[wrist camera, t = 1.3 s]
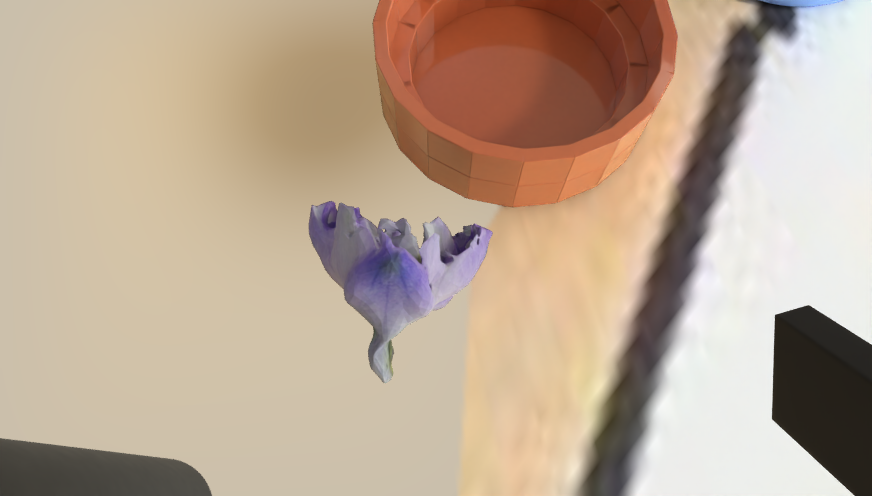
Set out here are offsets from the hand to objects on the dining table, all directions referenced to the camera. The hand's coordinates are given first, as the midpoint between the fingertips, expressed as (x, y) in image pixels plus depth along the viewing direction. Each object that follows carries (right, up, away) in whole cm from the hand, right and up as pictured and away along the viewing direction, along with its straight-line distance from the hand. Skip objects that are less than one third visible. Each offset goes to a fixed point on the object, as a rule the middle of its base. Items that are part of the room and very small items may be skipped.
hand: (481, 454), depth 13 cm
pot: (+4, +14, +27) cm, 31 cm away
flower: (-3, +1, +23) cm, 23 cm away
